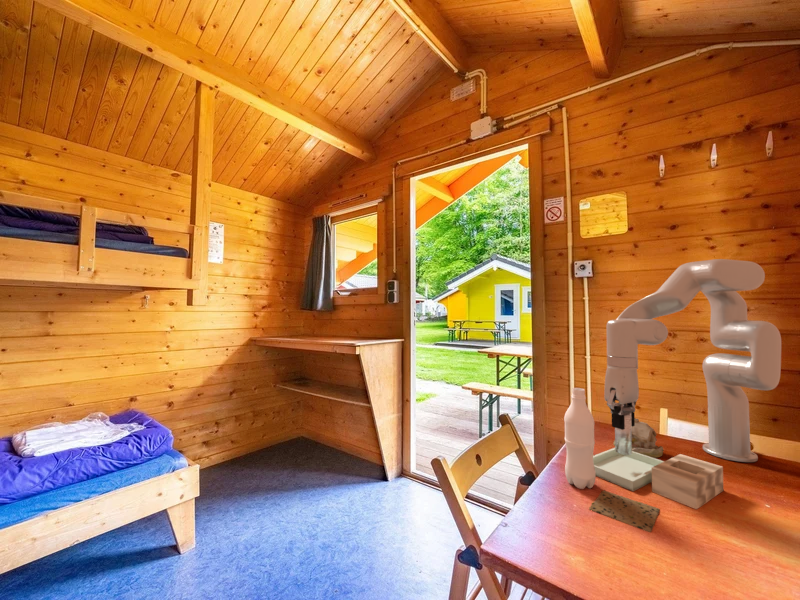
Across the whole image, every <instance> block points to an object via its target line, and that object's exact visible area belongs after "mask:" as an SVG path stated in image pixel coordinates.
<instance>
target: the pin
mask: <svg viewBox="0 0 800 600" xmlns="http://www.w3.org/2000/svg"><path fill="white" fill-rule="evenodd" d="M615 406H617V407H618V408H619V405H615ZM635 411H636V406H635V407H633V406H631V405H626V404H624V408H623V415H624V420H625V429H624V430H622V429H618V428H615V427H614V441H615V446H614V448H615V451H616V452H617V453H620V454H624V455H631V454H632V423H631V412H634V413H635Z"/></svg>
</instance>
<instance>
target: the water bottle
mask: <svg viewBox="0 0 800 600" xmlns="http://www.w3.org/2000/svg"><path fill="white" fill-rule="evenodd" d="M571 392H572V393H571V403H570V405H569V406H568V408H567V410H566V411H565V413H564V417H563V421H564V438H563V439H564V441H565V442H564V443H565V448H566V449H565V450H566V458H565V466H564V474H565V477H566V480H567V483H569V484H570V485H574V486H575V487H576V488H577V489H581V490H584V489H585V488H588V489H591V488H593V486H594V485H595V482H596V477H597V476H596V472H595V468H594V462H593V456H594V449H595V444H596V443H595V420H594V419H595V418H594V417H593V414H592V412H591V411H590V409H589V407H588V405H587V403H586V399H587V397H586V390H585V388H582V387H581V388H580V387H572V389H571Z"/></svg>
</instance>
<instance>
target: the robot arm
mask: <svg viewBox="0 0 800 600" xmlns="http://www.w3.org/2000/svg"><path fill="white" fill-rule="evenodd" d="M765 276H766V273H765V271H764V269H763V267H762V266H761V265H759V264H758V263H757V262H754V261H749V260H739V259H728V258H725V259H723V258H718V259H717V258H716V259H708V260H699V261H691V262H686V263H682V264H681V265H679V266H678V267H677V268H676V269H675V270H674V272H672V273H671V275H670V276H669V277H668V278H667V279H666V280H665V281H664V283H662V285H660V287H659V288H658V289H657V290H656V291H655V292H653V293H651V294H649V295H647V296H645V297H643V298H641V299H639V300H637V301H635V302H634V303H632V304H630V305H628V306H627V307H626V308H625V309H624V310H623V311H622V312H621V313H620V314H619V315H618V317H617V318H615V319H611V320H608V321H607V323H606V327H605V328H606V370H605V377H604V390H603V391H604V395H603V396H604V397H603V398H604V401H605V402H606V406H607V407H608V408H609V410H610V413H611V427H613V428H614V429H615V428H618V429H622V430H624V429H625V420H624V415H623V408H624V404H626V405H631V406H633V407H635V408H636V405H637V401H638V400H639V396H640V395H639V394H640V393H639V391H640V389H639V377H638V370H639V350H638V349H639V348H638V345H644V346H657V345H660V344H662V343H664V342H665V340H667V338H668V335H669V331H668V328H667V326H666V325H665V324H664V323H663V322H662V321H659V320H658V319H656V318H659V317H663V316H664V317H665V316H667V315H668V316H669V315H671V314H675V313H678V312H680V311H683V310H685V308H687V307H688V306H689V304H690V303H691V301H692V300H693V299H694V298H695V297H696V296H697V294H698V293H699V292H702V294H703V295H704V296H705V297H706V299H707V300H708V303H709V305H710V323H709V324H710V326H709V337H710V343H711V344H712V345H713V346H714V347H715V348H718V349H723V350H730V351H739V352H749V353H750V355H741V354H732V353H723V352H722V353H720V352H718V353H713V354H709V355H707V356H706V357H705V358H704V359H703V362H702V366H701V367H702V371H703V372H702V373H703V376H704V379H705V383H706V385H705V386H706V391H707V392H706V393H707V421H708V424H707V425H708V442H706V443H703V444H702V450H703V451H704V452H706V453H707V454H710V455H712V456H714V457H717V458H720V459H724V460H728V461H733V462H738V463H740V462H741V463H756V462H757V461H758V460H759V457H758V454H756V453H755V452H753V451H751V431H750V430H751V429H750V427H751V426H750V403H749V398H748V396H747V394H746V392H745V391H744V390H743V388H748V389H752V390H758V391H759V390H760V391H772V390H774V389H776V388H777V387H778V385H779V384H780V383H779V382H780V379H781V369H782V368H781V367H782V337H781V332H780V331H779V328H777V326H776V325H774V324H773V323H771V322H769V321H766V320H765V321H764V320H748V305H747V302H746V300H745V299H744V298H743V297H742V296H741V294H740V293H739V292H743V291H745V292H746V291H753V290H756V289H758V288H759V287H760V286H762V284H764V282H765V278H766V277H765ZM738 291H739V292H738ZM616 401H617V402H616ZM615 405H619V408H618V407H617V406H615ZM635 418H636V416H635V412H631V423H632V426H635Z"/></svg>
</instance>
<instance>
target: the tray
mask: <svg viewBox="0 0 800 600" xmlns="http://www.w3.org/2000/svg"><path fill="white" fill-rule="evenodd" d="M664 461H665V460H661V459H658V458H653V457H649V456H646V455H643V454H640V453H637V452H634V451H632V454H631V455H624V454H620V453H617V452H616V451H615V447H612V448H610V449H608V450H605V451H602V452H600V453H597V454H595V455H594V454H593V462H594V468H595V472H596V477H598V478H599V479H602V480H605V481H606V482H610V483H612V484H614V485H617V486H619V487H621V488H624V489H627V490H628V491H631V492H634V491H637V490H639V489H641V488H642V487H643V488H644V486H647V485H648V484H650V483H652V467H654V466H656V465H658V464H660V463H662V462H664Z"/></svg>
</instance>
